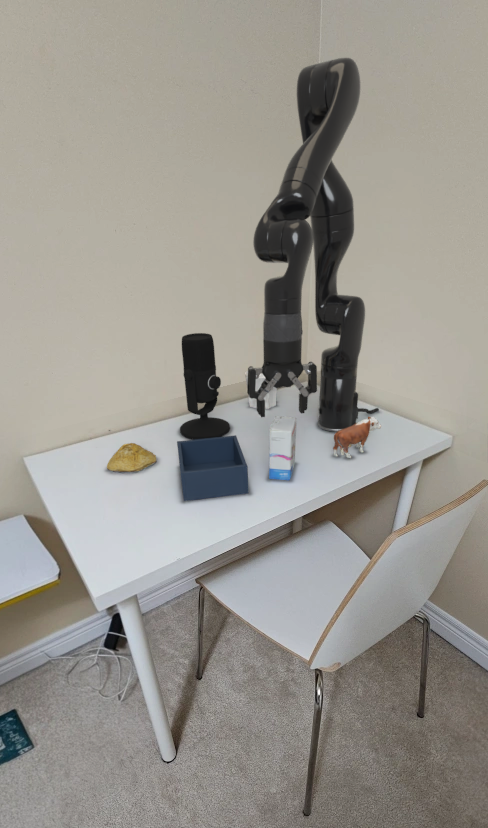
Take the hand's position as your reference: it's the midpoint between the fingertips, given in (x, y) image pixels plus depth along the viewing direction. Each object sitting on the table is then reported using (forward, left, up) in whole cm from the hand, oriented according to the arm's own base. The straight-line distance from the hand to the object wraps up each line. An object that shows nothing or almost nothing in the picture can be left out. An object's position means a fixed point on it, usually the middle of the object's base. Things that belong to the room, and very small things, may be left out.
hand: (282, 414), depth 101 cm
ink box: (0, 0, -14) cm, 14 cm away
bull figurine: (-19, -5, -14) cm, 24 cm away
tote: (+16, 0, -14) cm, 21 cm away
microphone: (+15, -28, -14) cm, 35 cm away
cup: (-4, -43, -14) cm, 45 cm away
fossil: (+34, -12, -14) cm, 39 cm away
